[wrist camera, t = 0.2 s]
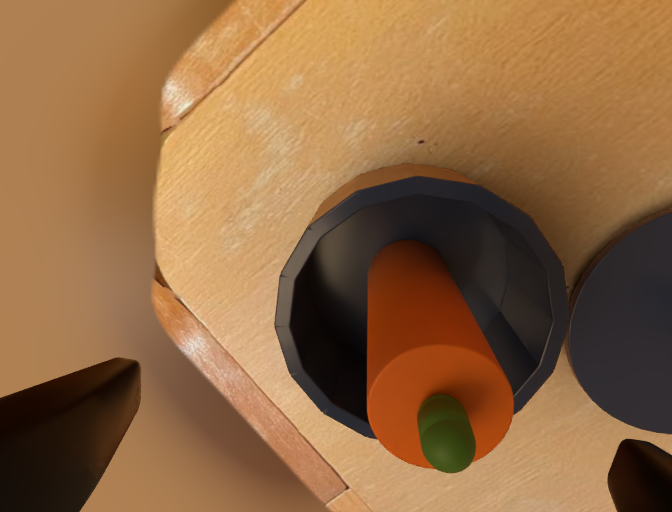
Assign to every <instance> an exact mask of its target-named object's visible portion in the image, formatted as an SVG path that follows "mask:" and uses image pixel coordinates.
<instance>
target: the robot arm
mask: <svg viewBox="0 0 672 512" xmlns="http://www.w3.org/2000/svg"><path fill="white" fill-rule="evenodd" d="M140 400H141V367H140V363H139V362H138V361H136V360H132V359H125V358H114V359H111V360H108V361H105V362H102V363H99V364H96V365H93V366H91V367H88V368H85V369H82V370H79V371H76V372H73V373H70V374H68V375H65V376H62V377H59V378H56V379H53V380H51V381H48V382H45V383H42V384H39V385H36V386H33V387H31V388H27V389H24V390H22V391H19V392H16V393H13V394H10V395H7V396H4V397H2V398H0V512H79V511H80V510H81V508H82V507H83V506H84V504H85V503H86V501H87V500H88V498H89V497H90V495H91V494H92V492H93V491H94V489H95V487H96V485H97V484H98V482H99V481H100V479H101V477H102V475H103V474H104V472H105V470H106V468H107V466H108V465H109V463H110V461H111V459H112V457H113V455H114V453H115V451H116V449H117V448H118V446H119V444H120V442H121V441H122V438H123V437H124V435H125V433H126V431H127V429H128V428H129V426H130V424H131V422H132V420H133V418H134V416H135V415H136V413H137V411H138V408H139V405H140ZM608 488H609V491H610V494H611V496H612V499H613V502H614V504H615V507H616V510H617V512H672V455H670V454H669V453H667V452H665V451H664V450H662V449H660V448H659V447H657V446H655V445H654V444H652V443H650V442H647V441H641V440H634V439H625V440H623V441H622V442H621V443H620V445H619V447H618V449H617V452H616V455H615V457H614V460H613V462H612V465H611V468H610V470H609V473H608Z"/></svg>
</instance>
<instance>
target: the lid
mask: <svg viewBox="0 0 672 512" xmlns="http://www.w3.org/2000/svg"><path fill="white" fill-rule="evenodd" d="M569 312H570V322H569V325H568V329H567V332H566V335H565V348H566V353H567V358H568V362H569V364H570V367H571V369H572V372H573V374H574V376H575V378H576V379H577V381H578V383H579V384H580V386H581V387H582V388H583V390H584V391H585V392H586V393H587V394H588V396H589V397H590V398H591V399H592V401H594V402H595V403H596V404H597V405H598V406H599V407H600V408H601V409H602V410H604V411H605V412H607V413H608V414H610V415H611V416H613V417H614V418H616V419H618V420H620V421H622V422H624V423H626V424H628V425H631V426H634V427H637V428H640V429H643V430H647V431H652V432H656V433H665V434H672V208H669V209H666V210H664V211H661V212H659V213H656V214H654V215H651V216H650V217H648V218H646V219H644V220H642V221H640V222H638V223H637V224H635V225H633V226H632V227H630V228H629V229H627V230H626V231H624V232H623V233H622V234H620V235H619V236H618V237H616V238H615V239H614V240H613V241H612V242H611V243H609V244H608V245H607V246H606V247H605V248H604V249H603V250H602V251H601V252H600V253H599V254H598V256H597V257H596V258H595V259H594V260H593V261H592V263H591V264H590V265H589V267H588V268H587V269H586V271H585V272H584V274H583V275H582V277H581V279H580V281H579V283H578V284H577V286H576V288H575V290H574V293H573V295H572V298H571V300H570V303H569Z"/></svg>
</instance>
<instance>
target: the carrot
mask: <svg viewBox="0 0 672 512" xmlns="http://www.w3.org/2000/svg"><path fill="white" fill-rule="evenodd" d="M513 412H514V398H513V392H512V388H511V386H510V383H509V381H508V379H507V377H506V375H505V373H504V371H503V370H502V368H501V366H500V364H499V362H498V360H497V359H496V357H495V355H494V353H493V351H492V349H491V347H490V346H489V344H488V342H487V340H486V338H485V336H484V335H483V333H482V331H481V329H480V327H479V325H478V324H477V322H476V320H475V318H474V316H473V314H472V313H471V311H470V309H469V307H468V305H467V303H466V302H465V300H464V298H463V296H462V294H461V292H460V291H459V289H458V287H457V285H456V283H455V281H454V280H453V278H452V276H451V274H450V272H449V270H448V269H447V267H446V265H445V263H444V261H443V259H442V258H441V256H440V255H439V254H438V253H437V251H435V250H434V249H433V248H432V247H430V246H429V245H427V244H425V243H422V242H420V241H415V240H402V241H397V242H394V243H391V244H389V245H387V246H386V247H384V248H383V249H381V250H380V251H379V252H378V253H377V254H376V256H375V257H374V258H373V260H372V262H371V264H370V267H369V271H368V315H367V414H368V420H369V423H370V426H371V428H372V430H373V432H374V434H375V436H376V437H377V439H378V440H379V441H380V443H381V444H382V445H383V446H384V447H385V448H386V449H387V450H388V451H389V452H391V453H392V454H393V455H395V456H396V457H398V458H399V459H401V460H403V461H405V462H407V463H410V464H413V465H416V466H420V467H424V468H432V469H437V470H439V471H442V472H446V473H457V472H460V471H463V470H464V469H466V468H467V467H468V466H469V465H470V464H471V463H472V462H474V461H476V460H478V459H480V458H482V457H483V456H485V455H487V454H488V453H489V452H490V451H492V450H493V449H494V448H495V447H496V446H497V445H498V444H499V443H500V442H501V440H502V439H503V438H504V436H505V435H506V433H507V431H508V429H509V427H510V424H511V421H512V417H513Z"/></svg>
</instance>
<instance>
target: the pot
mask: <svg viewBox="0 0 672 512" xmlns="http://www.w3.org/2000/svg"><path fill="white" fill-rule="evenodd" d="M402 240H415V241H420V242H422V243H425V244H427V245H429V246H430V247H432V248H433V249H434V250H435V251H437V253H438V254H439V255H440V256H441V258H442V259H443V261H444V263H445V265H446V267H447V269H448V270H449V272H450V274H451V276H452V278H453V280H454V281H455V283H456V285H457V287H458V289H459V291H460V292H461V294H462V296H463V298H464V300H465V302H466V303H467V305H468V307H469V309H470V311H471V313H472V314H473V316H474V318H475V320H476V322H477V324H478V325H479V327H480V329H481V331H482V333H483V335H484V336H485V338H486V340H487V342H488V344H489V346H490V347H491V349H492V351H493V353H494V355H495V357H496V359H497V360H498V362H499V364H500V366H501V368H502V370H503V371H504V373H505V375H506V377H507V379H508V381H509V383H510V386H511V388H512V392H513V398H514V412H513V415H514V414H516V413H517V412H518V411H520V410H521V409H522V408H523V407H524V406H525V405H526V403H527V402H528V401H529V400H530V399H531V398H532V396H533V395H534V394H535V393H536V392H537V391H538V389H539V388H540V387H541V386H542V385H543V384H544V383H545V381H546V380H547V379H548V378H549V377H550V376H551V374H552V373H553V372H554V371H553V370H554V369H555V366H556V363H557V360H558V357H559V354H560V351H561V347H562V344H563V341H564V338H565V335H566V332H567V329H568V325H569V322H570V312H569V304H568V297H567V289H566V281H565V273H564V266H563V265H562V262H561V261H560V259H559V258H558V256H557V255H556V253H555V252H554V250H553V249H552V247H551V246H550V244H549V242H548V241H547V239H546V238H545V236H544V235H543V233H542V232H541V230H540V229H539V227H538V226H537V224H536V223H535V221H534V220H533V218H531V216H530V215H528V214H527V213H525V212H523V211H522V210H520V209H518V208H517V207H515V206H514V205H512V204H510V203H509V202H507V201H506V200H504V199H502V198H501V197H499V196H498V195H496V194H494V193H493V192H491V191H490V190H488V189H486V188H485V187H483V186H481V185H480V184H478V183H476V182H474V181H472V180H470V179H469V178H467V177H465V176H463V175H461V174H459V173H458V172H456V171H454V170H451V169H444V168H438V167H433V166H429V165H418V164H410V163H406V164H405V163H403V164H399V165H393V166H388V167H383V168H379V169H376V170H373V171H370V172H367V173H363V174H360V175H358V176H357V177H355V178H354V179H353V180H351V181H350V182H348V183H347V184H345V185H343V186H342V187H341V188H339V189H338V190H337V191H336V192H335V193H334V194H332V195H331V196H330V197H328V198H327V199H326V200H324V201H323V203H321V205H320V207H319V208H318V210H317V212H316V213H315V215H314V217H313V218H312V220H311V222H310V223H309V225H308V227H307V228H306V230H305V232H304V234H303V235H302V237H301V239H300V240H299V242H298V244H297V246H296V247H295V249H294V251H293V252H292V254H291V256H290V258H289V259H288V261H287V263H286V264H285V266H284V268H283V270H282V271H281V275H280V277H279V287H278V296H277V305H276V314H275V323H274V325H275V330H276V333H277V336H278V339H279V343H280V346H281V349H282V352H283V355H284V358H285V361H286V364H287V368H288V371H289V373H290V374H291V377H292V378H293V379H294V380H295V381H296V382H297V384H298V385H299V386H300V387H301V388H302V389H303V391H304V392H305V393H306V394H307V395H308V397H309V398H310V399H311V400H312V401H313V402H314V404H315V405H316V406H317V407H318V408H319V409H320V411H321V412H323V413H324V414H325V415H327V416H329V417H331V418H333V419H334V420H336V421H338V422H340V423H342V424H343V425H345V426H347V427H349V428H351V429H353V430H354V431H356V432H358V433H360V434H362V435H363V436H365V437H368V438H373V439H377V437H376V436H375V434H374V432H373V430H372V428H371V426H370V423H369V420H368V414H367V315H368V271H369V267H370V264H371V262H372V260H373V258H374V257H375V256H376V254H377V253H378V252H379V251H380V250H381V249H383V248H384V247H386V246H387V245H389V244H391V243H394V242H397V241H402Z"/></svg>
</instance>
